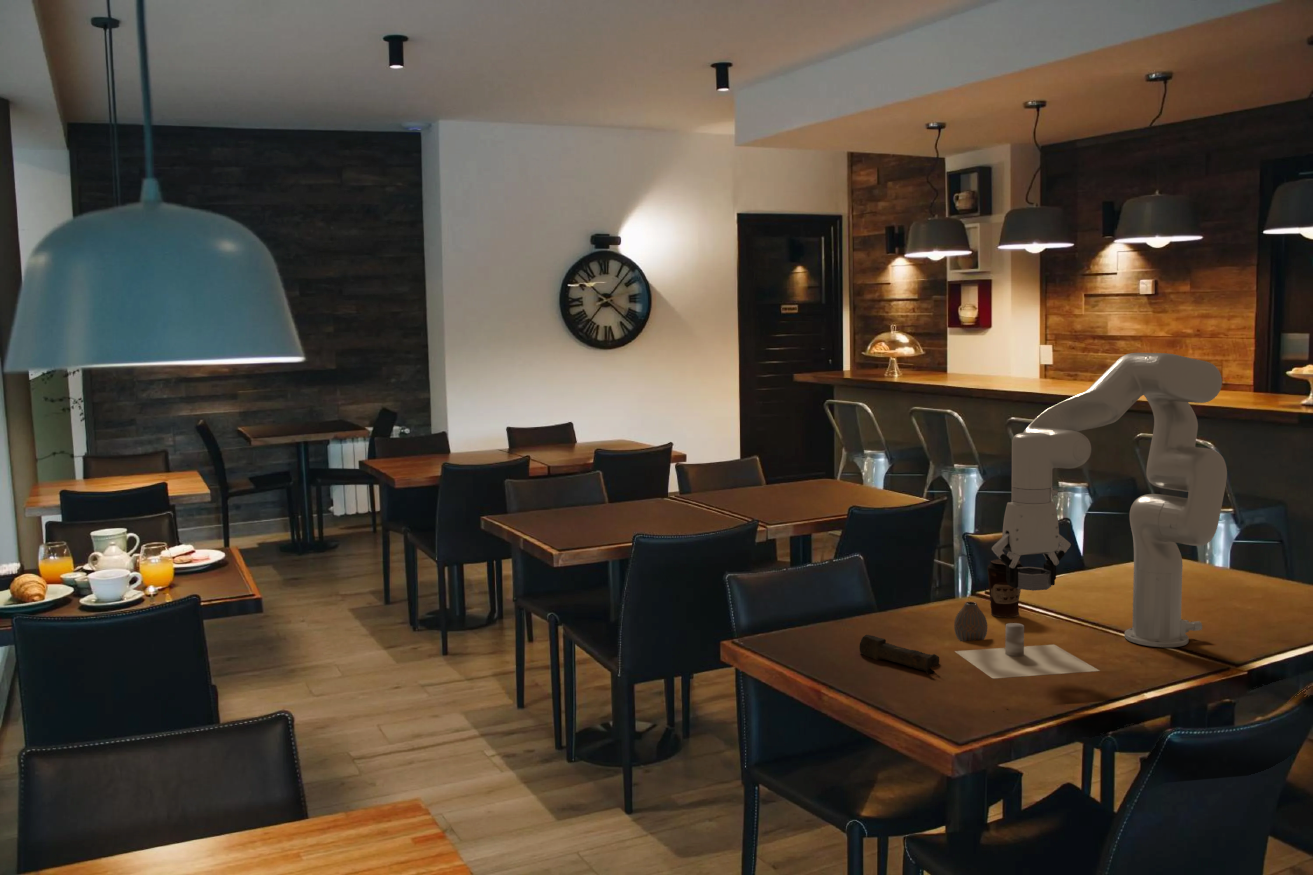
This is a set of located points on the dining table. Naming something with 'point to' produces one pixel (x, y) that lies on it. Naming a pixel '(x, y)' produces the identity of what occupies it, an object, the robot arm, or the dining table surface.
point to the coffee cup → (1002, 591)
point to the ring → (1033, 578)
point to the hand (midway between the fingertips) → (1031, 584)
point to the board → (1024, 658)
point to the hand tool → (897, 654)
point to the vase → (970, 623)
